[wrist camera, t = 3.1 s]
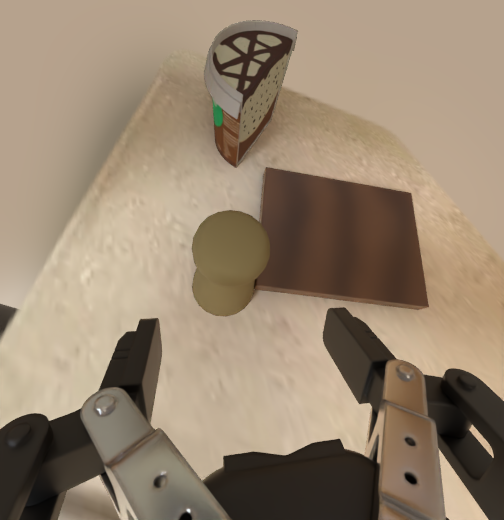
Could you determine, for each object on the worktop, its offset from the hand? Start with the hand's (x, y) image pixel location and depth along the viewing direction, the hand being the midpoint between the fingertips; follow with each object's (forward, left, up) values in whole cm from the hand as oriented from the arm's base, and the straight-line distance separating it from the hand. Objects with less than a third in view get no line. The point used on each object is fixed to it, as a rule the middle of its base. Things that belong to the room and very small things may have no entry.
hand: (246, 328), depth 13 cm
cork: (-1, +6, -13) cm, 14 cm away
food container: (-2, +26, -13) cm, 29 cm away
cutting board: (+11, +13, -13) cm, 21 cm away
